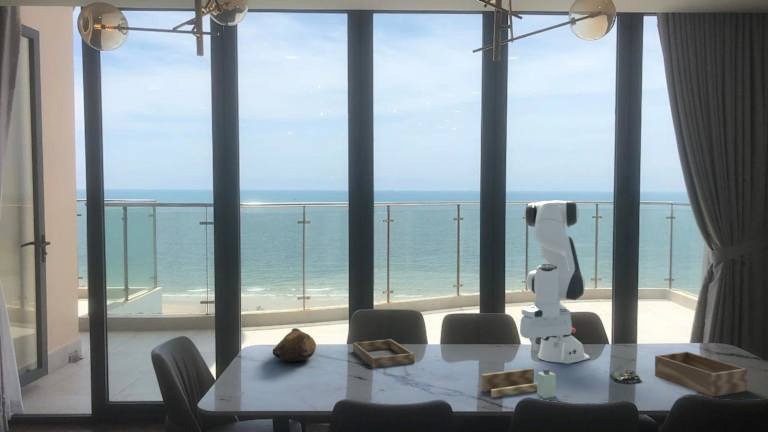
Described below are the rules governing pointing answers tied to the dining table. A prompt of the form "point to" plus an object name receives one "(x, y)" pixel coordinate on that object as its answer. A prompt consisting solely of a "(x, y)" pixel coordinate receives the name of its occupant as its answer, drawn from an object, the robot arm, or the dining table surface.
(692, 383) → the open wooden box
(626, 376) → the mottled grey lump
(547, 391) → the cabinet block
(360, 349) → the rectangular wooden frame
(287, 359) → the brown rough lump
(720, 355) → the dining table surface
